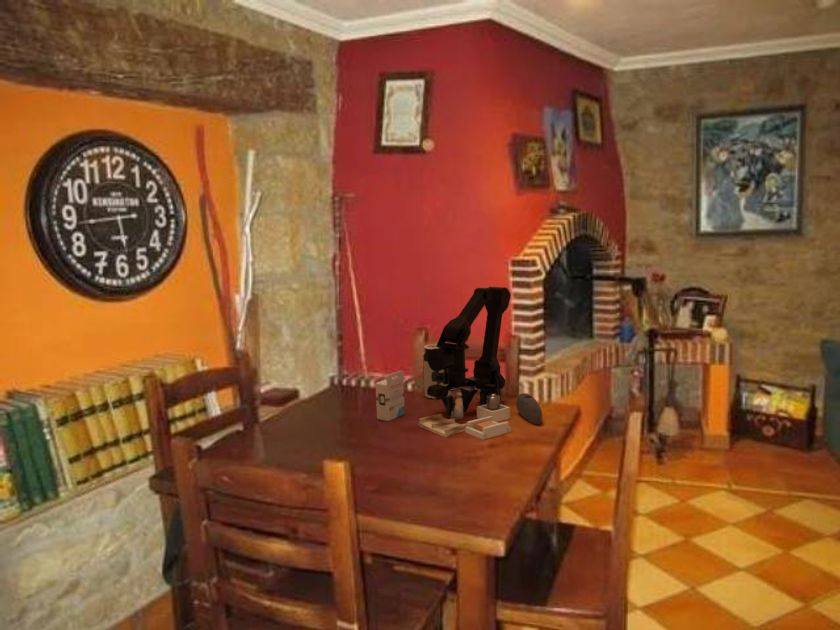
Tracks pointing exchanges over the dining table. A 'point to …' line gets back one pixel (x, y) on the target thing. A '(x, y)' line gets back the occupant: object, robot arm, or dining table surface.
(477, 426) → the pad
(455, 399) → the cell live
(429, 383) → the travel mug
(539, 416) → the perforated stone tool
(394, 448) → the dining table surface
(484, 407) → the bin
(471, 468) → the dining table surface
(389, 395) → the ink box
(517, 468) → the dining table surface
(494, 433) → the cradle
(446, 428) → the troughs
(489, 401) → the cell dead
